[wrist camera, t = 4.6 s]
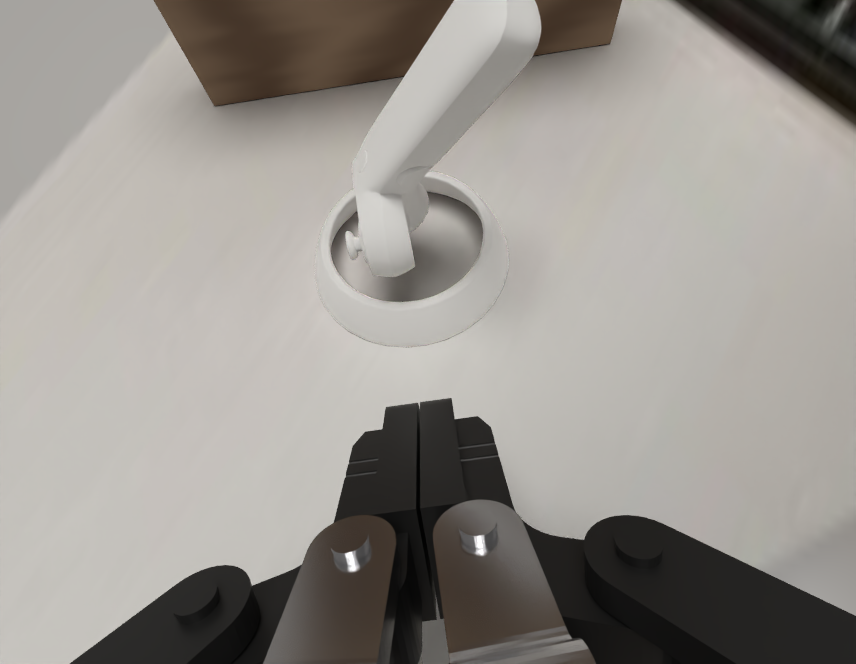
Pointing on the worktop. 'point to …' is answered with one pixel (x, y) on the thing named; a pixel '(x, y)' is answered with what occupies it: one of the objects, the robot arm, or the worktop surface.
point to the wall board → (338, 39)
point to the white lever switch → (427, 176)
